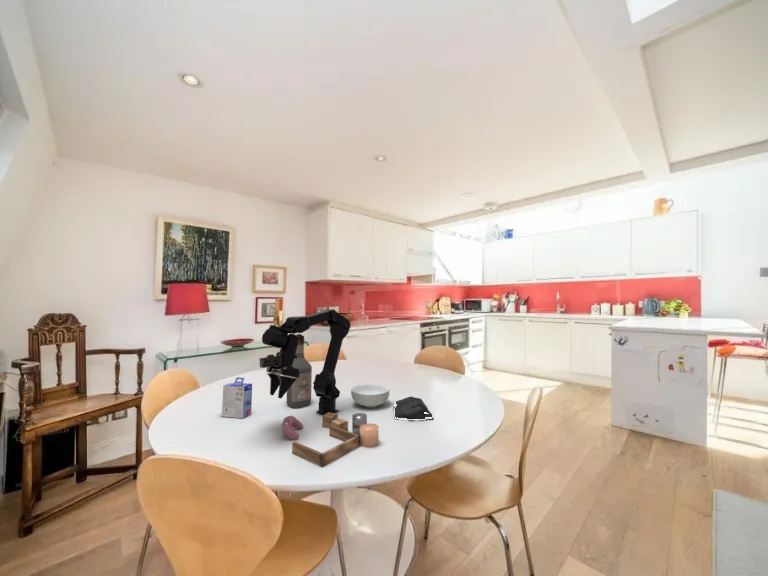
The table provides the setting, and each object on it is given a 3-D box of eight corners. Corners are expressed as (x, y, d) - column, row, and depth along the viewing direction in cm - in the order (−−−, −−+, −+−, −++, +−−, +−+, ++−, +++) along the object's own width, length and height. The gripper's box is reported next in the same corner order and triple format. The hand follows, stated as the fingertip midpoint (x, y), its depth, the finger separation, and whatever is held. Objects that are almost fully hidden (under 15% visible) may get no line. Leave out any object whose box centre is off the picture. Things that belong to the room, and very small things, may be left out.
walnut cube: (328, 423, 114) (328, 412, 115) (337, 424, 113) (337, 413, 113) (322, 427, 111) (322, 415, 111) (331, 428, 109) (331, 417, 109)
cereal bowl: (359, 413, 124) (360, 396, 124) (345, 402, 139) (345, 386, 139) (396, 407, 132) (396, 390, 132) (379, 396, 147) (379, 381, 147)
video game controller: (292, 433, 109) (284, 415, 109) (304, 426, 110) (295, 409, 110) (286, 445, 99) (276, 426, 99) (299, 439, 100) (289, 419, 100)
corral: (331, 434, 104) (331, 425, 104) (360, 445, 96) (360, 435, 97) (292, 452, 91) (292, 442, 92) (321, 466, 84) (322, 455, 84)
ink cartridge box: (252, 413, 124) (253, 377, 124) (243, 418, 118) (244, 380, 119) (230, 412, 125) (231, 376, 126) (221, 417, 120) (222, 379, 121)
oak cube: (341, 429, 109) (341, 417, 109) (348, 432, 106) (348, 421, 106) (331, 432, 106) (331, 420, 106) (338, 436, 103) (338, 424, 103)
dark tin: (358, 429, 109) (358, 412, 109) (369, 432, 106) (369, 414, 106) (349, 434, 105) (349, 416, 105) (360, 437, 102) (360, 419, 102)
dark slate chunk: (426, 403, 138) (426, 392, 139) (434, 422, 116) (434, 409, 117) (392, 403, 138) (392, 392, 138) (394, 422, 116) (394, 409, 116)
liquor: (313, 405, 134) (314, 336, 136) (293, 409, 128) (294, 337, 130) (303, 400, 141) (304, 334, 143) (284, 404, 135) (285, 335, 137)
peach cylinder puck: (368, 437, 102) (368, 422, 103) (382, 442, 99) (382, 426, 99) (355, 444, 98) (355, 427, 98) (370, 449, 94) (370, 432, 94)
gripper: (259, 346, 113) (245, 390, 108) (273, 345, 98) (258, 396, 93) (287, 352, 119) (276, 394, 113) (306, 353, 104) (293, 401, 99)
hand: (275, 396), depth 104 cm, fingers open, 9 cm apart
